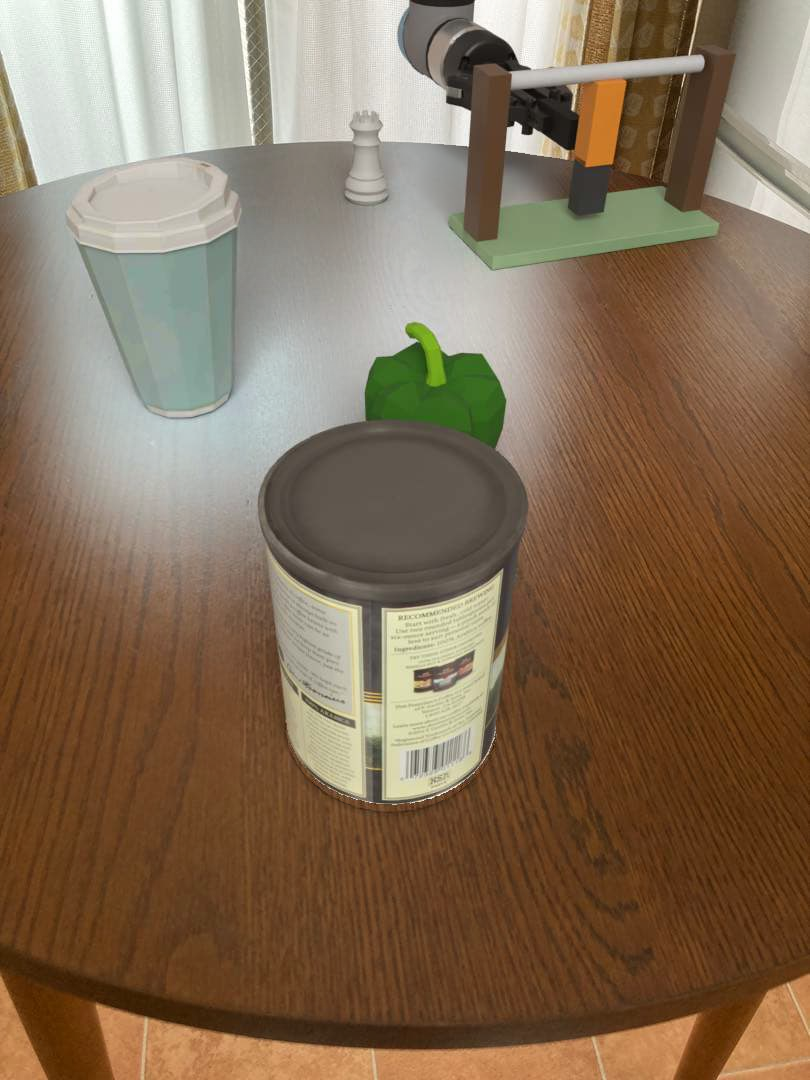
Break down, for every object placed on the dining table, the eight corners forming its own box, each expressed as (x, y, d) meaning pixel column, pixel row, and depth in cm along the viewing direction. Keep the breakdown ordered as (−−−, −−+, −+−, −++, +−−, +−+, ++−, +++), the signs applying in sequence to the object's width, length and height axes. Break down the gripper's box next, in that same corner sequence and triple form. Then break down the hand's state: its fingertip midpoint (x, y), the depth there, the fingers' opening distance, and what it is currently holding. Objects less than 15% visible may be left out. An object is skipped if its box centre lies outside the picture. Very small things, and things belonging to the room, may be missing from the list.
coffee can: (378, 612, 50) (378, 389, 40) (538, 711, 45) (580, 484, 36) (237, 730, 44) (199, 501, 34) (404, 859, 39) (413, 633, 30)
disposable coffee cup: (166, 456, 60) (123, 233, 50) (77, 392, 65) (22, 179, 55) (290, 394, 66) (274, 183, 56) (198, 339, 71) (169, 139, 61)
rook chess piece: (370, 186, 95) (370, 104, 90) (397, 199, 93) (399, 116, 87) (335, 196, 93) (333, 112, 88) (362, 210, 91) (361, 125, 85)
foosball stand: (660, 197, 95) (693, 35, 85) (717, 235, 88) (760, 64, 78) (448, 226, 88) (457, 54, 78) (492, 270, 81) (508, 88, 71)
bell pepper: (512, 512, 56) (529, 370, 50) (379, 528, 55) (380, 384, 48) (477, 434, 62) (488, 298, 56) (357, 447, 61) (354, 309, 54)
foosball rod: (664, 193, 90) (693, 51, 82) (677, 203, 88) (709, 58, 80) (489, 217, 85) (501, 68, 76) (500, 228, 83) (514, 76, 75)
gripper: (522, 97, 106) (629, 168, 90) (417, 107, 102) (508, 183, 86) (530, 24, 101) (644, 85, 85) (419, 32, 97) (516, 97, 81)
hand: (575, 134), depth 85 cm, fingers closed
